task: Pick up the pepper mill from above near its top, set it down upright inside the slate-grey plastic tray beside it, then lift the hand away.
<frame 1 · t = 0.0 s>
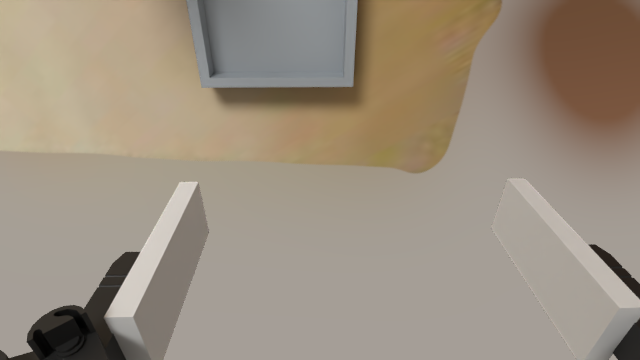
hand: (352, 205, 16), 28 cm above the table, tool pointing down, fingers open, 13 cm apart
tray: (275, 0, 37), on the table
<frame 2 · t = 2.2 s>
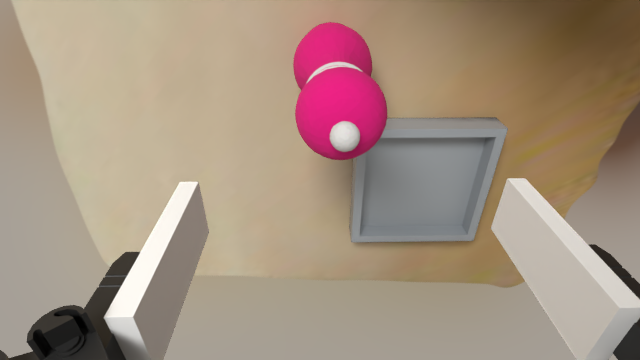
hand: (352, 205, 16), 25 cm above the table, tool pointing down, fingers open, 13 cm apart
pepper mill: (330, 54, 37), on the table
tray: (415, 177, 45), on the table
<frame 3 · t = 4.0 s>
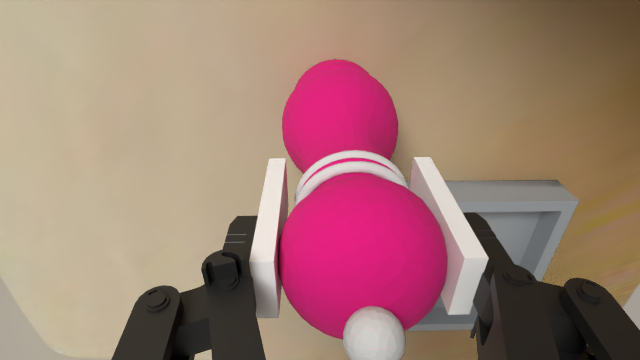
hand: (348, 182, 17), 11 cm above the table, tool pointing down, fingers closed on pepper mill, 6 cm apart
pepper mill: (335, 101, 27), on the table, touching gripper
tray: (445, 251, 35), on the table
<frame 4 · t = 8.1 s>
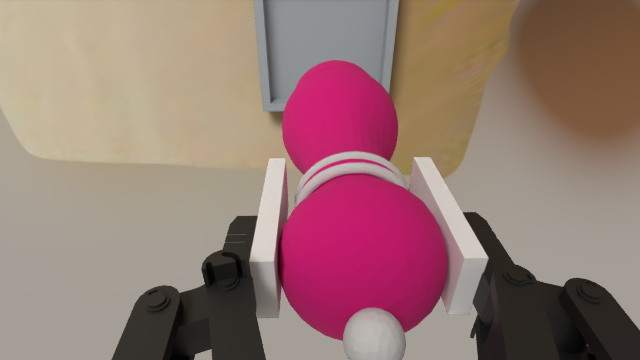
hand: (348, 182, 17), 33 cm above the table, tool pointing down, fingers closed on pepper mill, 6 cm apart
pepper mill: (335, 101, 27), point 21 cm above the table, touching gripper
tray: (325, 40, 45), on the table
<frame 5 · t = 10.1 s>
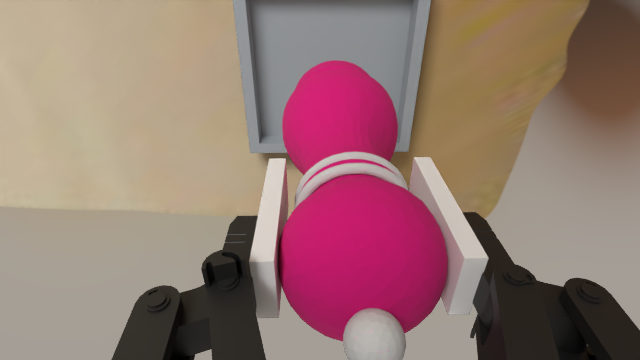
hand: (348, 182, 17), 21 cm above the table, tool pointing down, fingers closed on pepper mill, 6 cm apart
pepper mill: (335, 102, 27), point 10 cm above the table, touching gripper
tray: (329, 64, 35), on the table
when the fingers open (13 cm above the table, at t = 12.0 s): pepper mill stays where it is, resting on tray.
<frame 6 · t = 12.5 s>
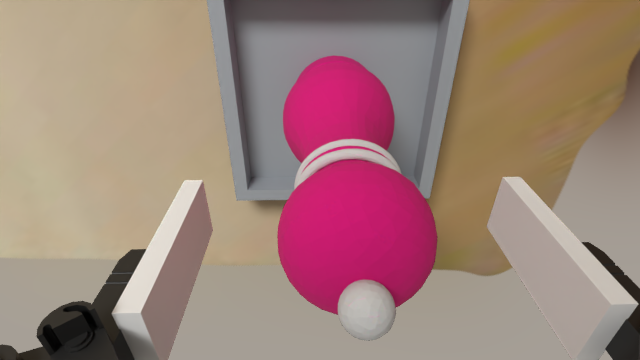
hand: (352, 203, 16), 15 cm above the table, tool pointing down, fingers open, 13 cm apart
pepper mill: (334, 96, 27), point 1 cm above the table, touching tray
tray: (333, 93, 28), on the table
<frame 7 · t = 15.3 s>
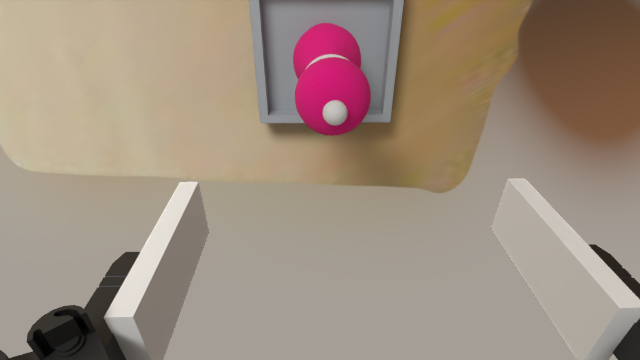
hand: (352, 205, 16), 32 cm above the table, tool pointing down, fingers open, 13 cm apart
pepper mill: (325, 51, 42), point 1 cm above the table, touching tray
tray: (325, 49, 43), on the table
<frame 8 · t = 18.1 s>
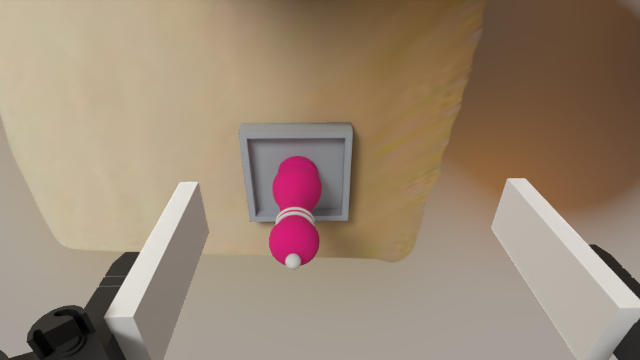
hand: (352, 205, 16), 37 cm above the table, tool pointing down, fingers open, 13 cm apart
pepper mill: (298, 172, 57), point 1 cm above the table, touching tray
tray: (298, 169, 57), on the table
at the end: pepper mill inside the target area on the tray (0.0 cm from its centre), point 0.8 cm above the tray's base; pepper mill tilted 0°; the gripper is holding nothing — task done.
